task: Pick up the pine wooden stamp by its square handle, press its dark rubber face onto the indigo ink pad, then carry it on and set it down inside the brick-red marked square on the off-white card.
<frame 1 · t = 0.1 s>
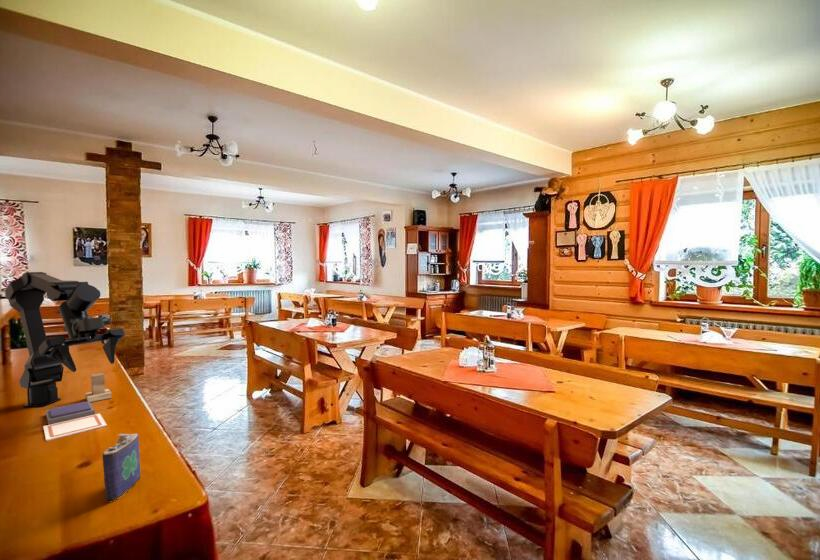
hand: (94, 367, 109), 15 cm above the table, tool tilted 30°, fingers open, 9 cm apart
print card: (75, 426, 104), on the table
stamp: (98, 398, 126), on the table
flask: (124, 489, 75), on the table
ink pad: (70, 414, 113), on the table
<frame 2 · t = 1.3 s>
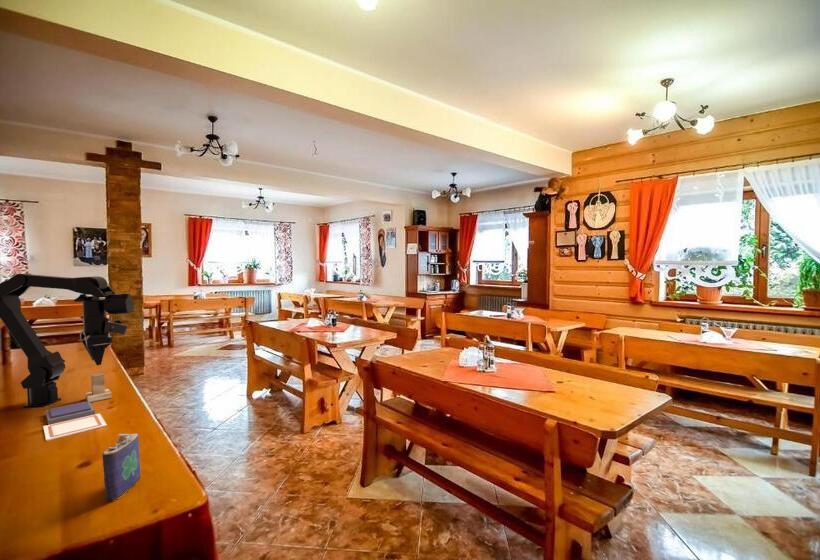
hand: (96, 362, 126), 12 cm above the table, tool pointing down, fingers open, 9 cm apart
nothing on the table moved.
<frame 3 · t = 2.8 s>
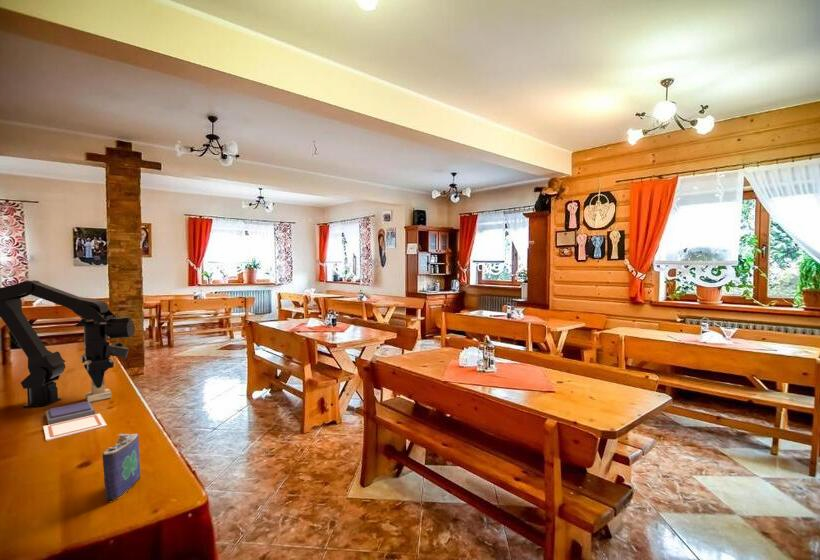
hand: (98, 386, 126), 4 cm above the table, tool pointing down, fingers closed on stamp, 3 cm apart
stamp: (98, 398, 126), on the table, touching gripper
everything else where it was.
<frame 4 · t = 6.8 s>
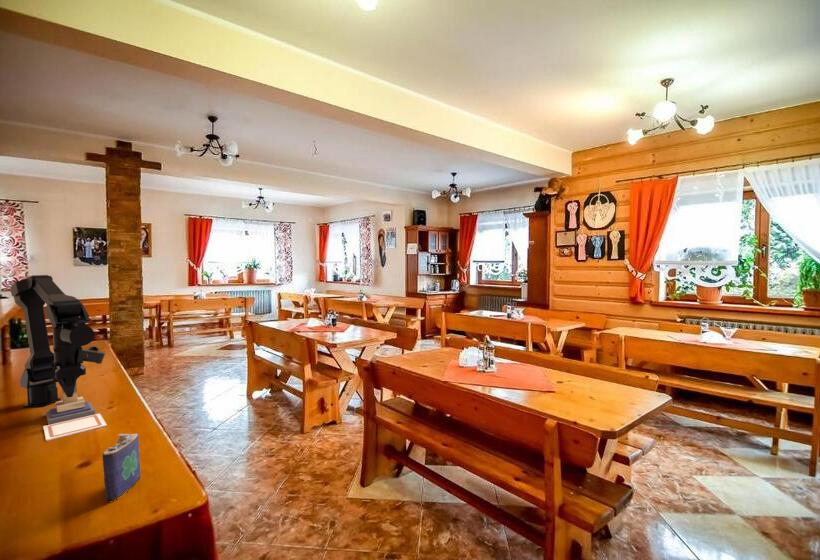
hand: (69, 395, 113), 6 cm above the table, tool pointing down, fingers closed on stamp, 3 cm apart
stamp: (70, 408, 113), point 2 cm above the table, touching gripper, ink pad
everything else where it was.
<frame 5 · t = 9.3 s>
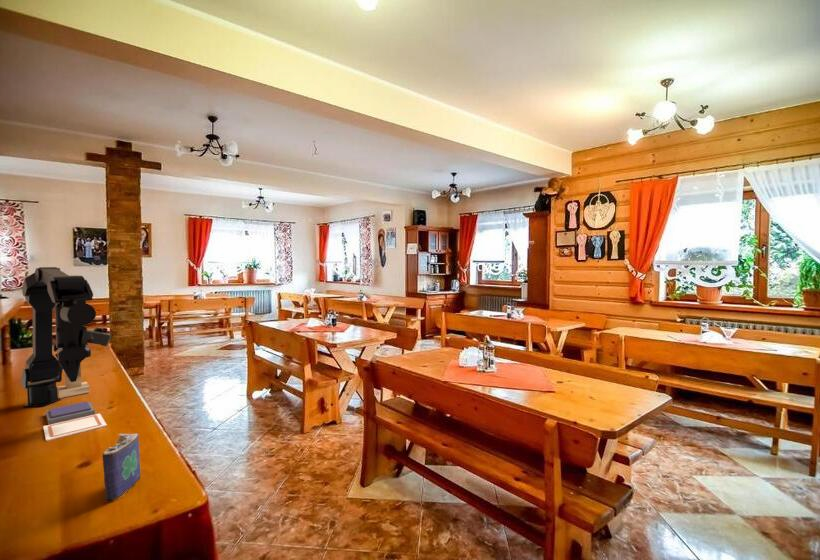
hand: (72, 380, 104), 13 cm above the table, tool pointing down, fingers closed on stamp, 3 cm apart
stamp: (74, 393, 104), point 9 cm above the table, touching gripper
everything else where it was.
when the fingers open (5 cm above the table, at t = 11.1 s): stamp drops 1 cm, resting on print card.
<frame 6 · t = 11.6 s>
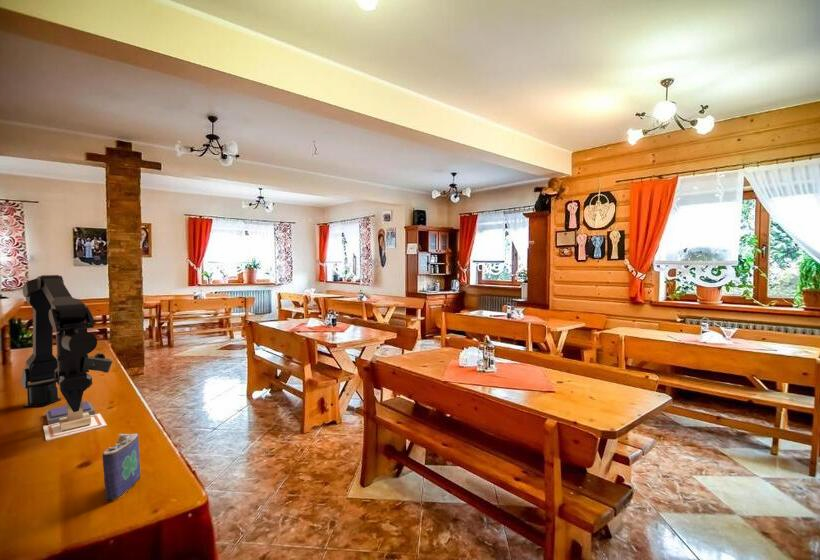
hand: (74, 407, 104), 5 cm above the table, tool pointing down, fingers open, 8 cm apart
stamp: (75, 425, 104), resting on print card
everything else where it was.
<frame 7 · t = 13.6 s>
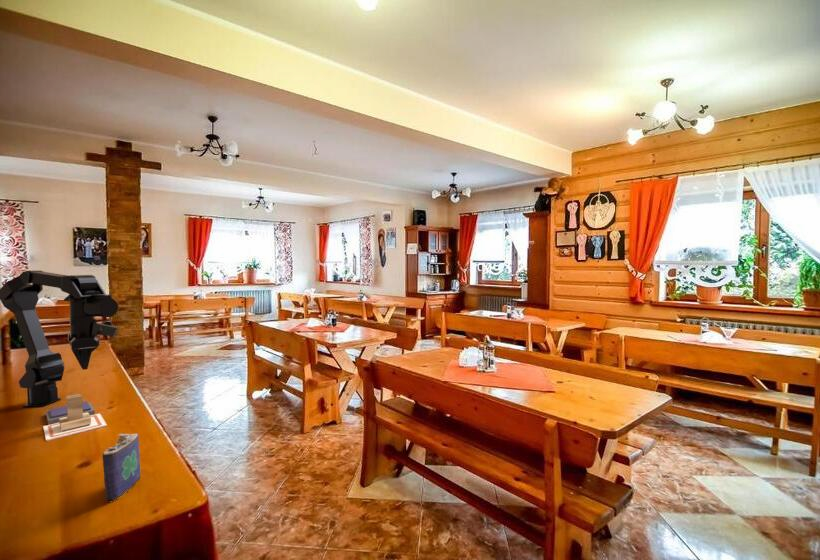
hand: (83, 366, 119), 13 cm above the table, tool pointing down, fingers open, 9 cm apart
nothing on the table moved.
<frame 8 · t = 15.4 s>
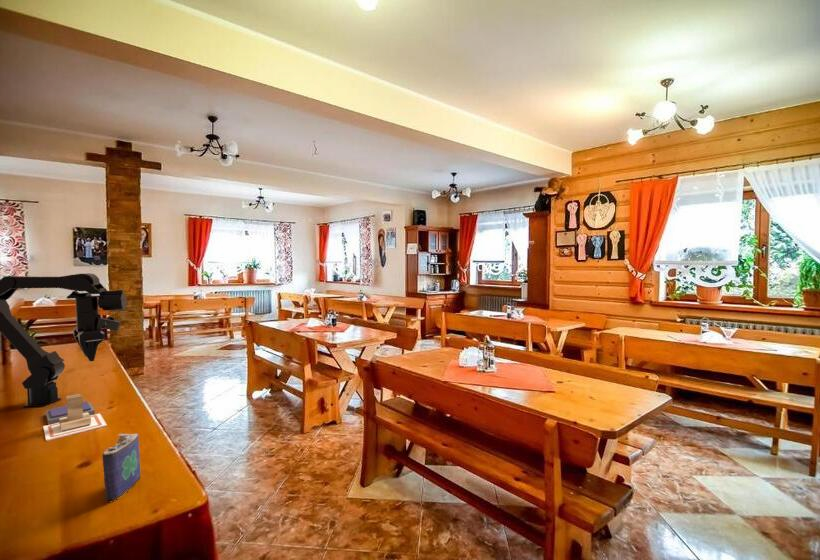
hand: (89, 358, 127), 13 cm above the table, tool pointing down, fingers open, 9 cm apart
nothing on the table moved.
at the end: stamp 0.1 cm off-centre on the print card, point 0.3 cm above the print card's base; stamp tilted 0°; the gripper is holding nothing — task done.
